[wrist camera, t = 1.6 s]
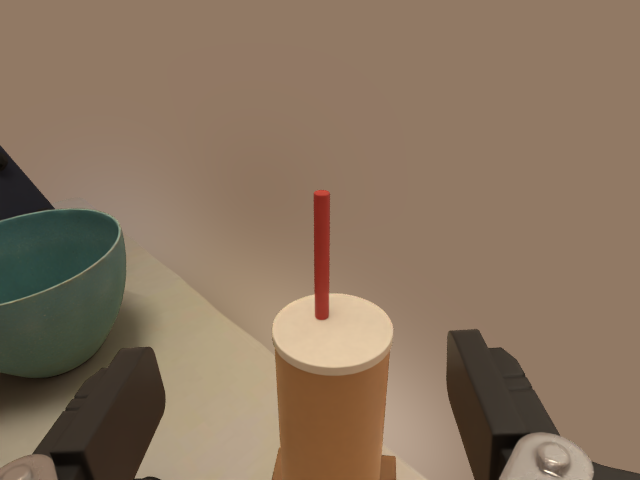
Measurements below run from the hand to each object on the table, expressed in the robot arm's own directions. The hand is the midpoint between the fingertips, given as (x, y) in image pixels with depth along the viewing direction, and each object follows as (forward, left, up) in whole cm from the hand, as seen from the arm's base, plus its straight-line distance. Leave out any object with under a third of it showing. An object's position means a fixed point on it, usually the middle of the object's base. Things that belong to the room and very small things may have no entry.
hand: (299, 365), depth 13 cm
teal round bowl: (-31, +25, -24) cm, 47 cm away
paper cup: (-1, +7, -19) cm, 20 cm away
